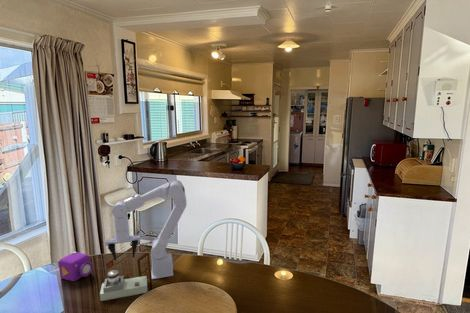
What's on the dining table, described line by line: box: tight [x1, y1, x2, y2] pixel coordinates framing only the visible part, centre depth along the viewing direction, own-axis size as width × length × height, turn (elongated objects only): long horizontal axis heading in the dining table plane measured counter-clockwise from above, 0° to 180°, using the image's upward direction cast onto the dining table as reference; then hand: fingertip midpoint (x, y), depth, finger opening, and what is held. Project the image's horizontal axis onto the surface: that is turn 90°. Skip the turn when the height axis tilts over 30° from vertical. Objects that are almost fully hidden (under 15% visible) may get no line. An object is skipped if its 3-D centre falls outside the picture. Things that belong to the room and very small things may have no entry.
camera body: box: [99, 275, 148, 302], centre depth 127 cm, size 18×8×5 cm, turn 107°
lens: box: [107, 269, 120, 286], centre depth 125 cm, size 4×4×6 cm
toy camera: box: [58, 251, 93, 282], centre depth 139 cm, size 11×14×10 cm
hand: (124, 257), depth 136 cm, fingers open, 7 cm apart
